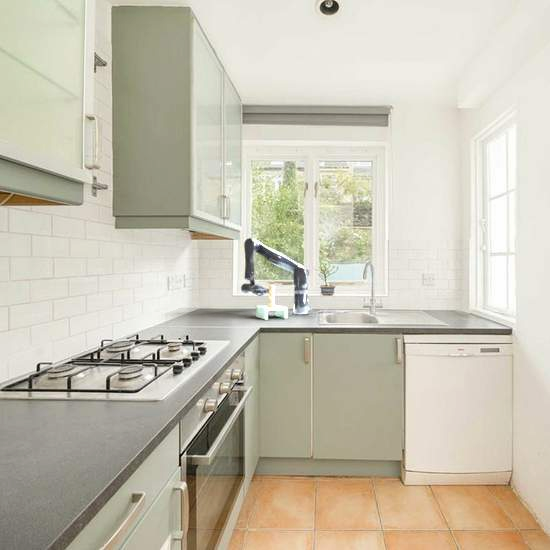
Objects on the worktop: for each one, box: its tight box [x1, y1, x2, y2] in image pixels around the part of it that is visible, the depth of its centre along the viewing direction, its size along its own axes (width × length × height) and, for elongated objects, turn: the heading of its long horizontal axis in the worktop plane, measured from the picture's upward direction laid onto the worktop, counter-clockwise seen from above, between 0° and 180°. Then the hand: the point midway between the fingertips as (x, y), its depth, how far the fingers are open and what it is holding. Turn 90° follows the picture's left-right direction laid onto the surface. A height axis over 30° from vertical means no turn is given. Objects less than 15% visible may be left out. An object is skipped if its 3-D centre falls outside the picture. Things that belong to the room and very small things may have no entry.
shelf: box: [255, 304, 289, 320], centre depth 299 cm, size 16×14×7 cm
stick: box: [267, 284, 277, 307], centre depth 299 cm, size 5×5×14 cm
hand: (267, 292), depth 305 cm, fingers open, 8 cm apart
